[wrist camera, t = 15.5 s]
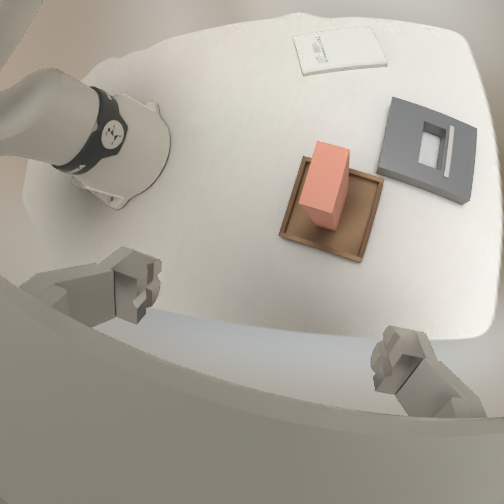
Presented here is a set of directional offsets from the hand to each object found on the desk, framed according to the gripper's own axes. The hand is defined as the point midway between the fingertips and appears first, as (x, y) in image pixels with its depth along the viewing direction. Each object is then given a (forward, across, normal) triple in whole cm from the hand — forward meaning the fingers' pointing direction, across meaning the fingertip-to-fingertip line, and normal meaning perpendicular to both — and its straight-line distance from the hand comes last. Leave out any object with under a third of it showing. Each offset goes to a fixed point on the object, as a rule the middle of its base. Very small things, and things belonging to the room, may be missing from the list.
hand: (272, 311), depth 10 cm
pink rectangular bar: (+26, -5, +2) cm, 26 cm away
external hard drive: (+37, -2, -20) cm, 42 cm away
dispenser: (+28, -15, -9) cm, 33 cm away
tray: (+26, -5, +2) cm, 27 cm away
